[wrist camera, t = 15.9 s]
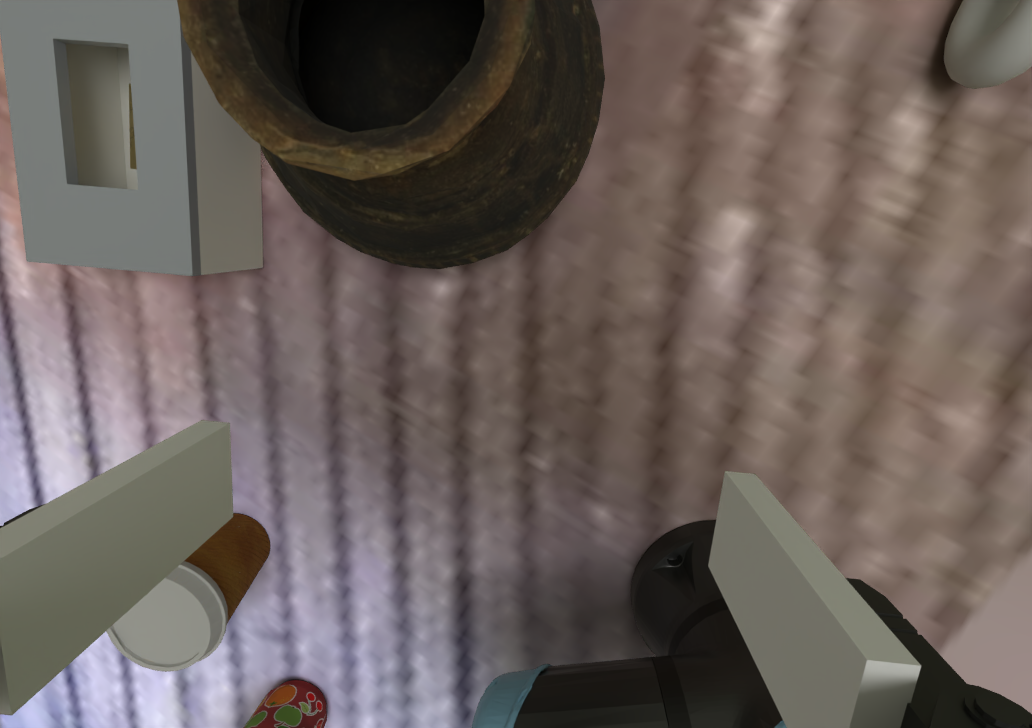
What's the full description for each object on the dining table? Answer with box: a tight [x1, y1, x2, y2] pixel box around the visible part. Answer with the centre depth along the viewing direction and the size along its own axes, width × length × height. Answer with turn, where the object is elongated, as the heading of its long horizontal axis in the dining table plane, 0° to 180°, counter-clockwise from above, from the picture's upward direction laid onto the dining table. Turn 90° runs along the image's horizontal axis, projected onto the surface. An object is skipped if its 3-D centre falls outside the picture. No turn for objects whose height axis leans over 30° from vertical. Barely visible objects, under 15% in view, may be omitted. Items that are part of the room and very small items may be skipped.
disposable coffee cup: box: [106, 513, 270, 672], centre depth 49 cm, size 10×10×12 cm
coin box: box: [0, 0, 263, 276], centre depth 42 cm, size 20×12×10 cm, turn 175°
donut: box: [944, 0, 1032, 89], centre depth 37 cm, size 10×4×10 cm, turn 165°
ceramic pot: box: [177, 0, 605, 269], centre depth 34 cm, size 24×24×22 cm
